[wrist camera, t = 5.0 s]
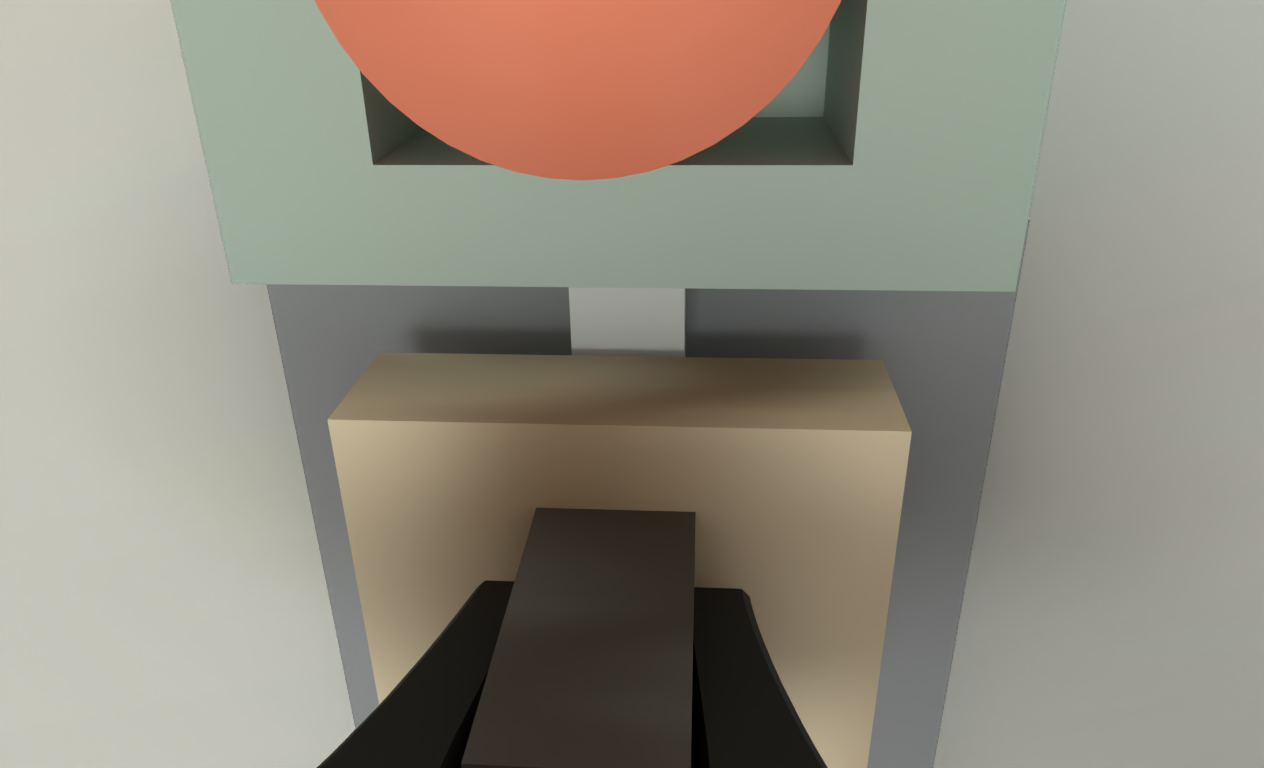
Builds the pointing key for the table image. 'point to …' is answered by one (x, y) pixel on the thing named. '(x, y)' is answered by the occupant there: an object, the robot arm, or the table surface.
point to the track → (695, 327)
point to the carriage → (625, 536)
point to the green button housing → (647, 202)
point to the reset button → (579, 73)
